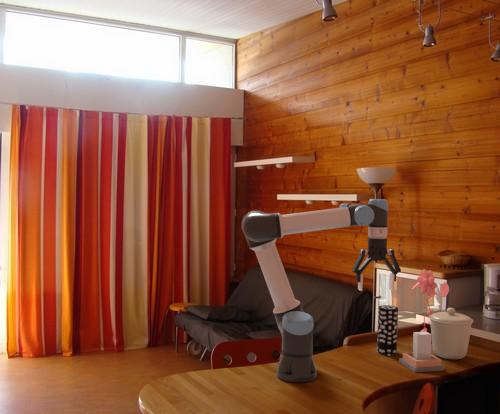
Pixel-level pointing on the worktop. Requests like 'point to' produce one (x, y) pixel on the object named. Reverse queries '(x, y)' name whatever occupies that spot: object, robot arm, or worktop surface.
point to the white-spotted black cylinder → (387, 330)
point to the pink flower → (429, 289)
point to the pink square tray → (421, 363)
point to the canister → (450, 334)
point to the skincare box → (422, 346)
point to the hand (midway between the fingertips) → (375, 290)
